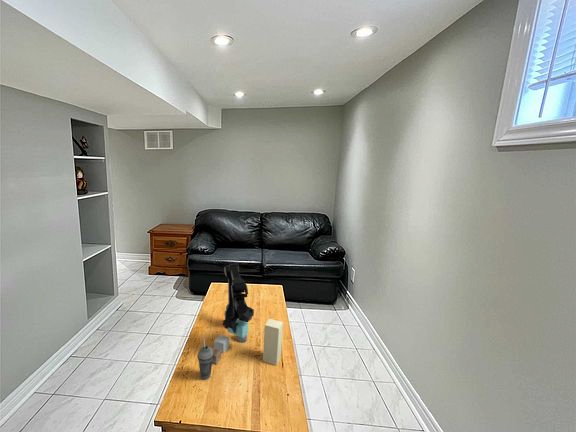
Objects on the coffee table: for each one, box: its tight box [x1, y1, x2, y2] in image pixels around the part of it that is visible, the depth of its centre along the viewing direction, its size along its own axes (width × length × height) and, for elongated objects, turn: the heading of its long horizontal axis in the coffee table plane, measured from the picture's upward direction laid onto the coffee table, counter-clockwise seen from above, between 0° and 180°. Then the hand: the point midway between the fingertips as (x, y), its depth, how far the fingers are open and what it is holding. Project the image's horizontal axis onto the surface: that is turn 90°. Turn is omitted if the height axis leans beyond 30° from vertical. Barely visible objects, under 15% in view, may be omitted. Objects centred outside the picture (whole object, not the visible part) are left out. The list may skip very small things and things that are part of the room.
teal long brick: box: [227, 319, 249, 338], centre depth 147 cm, size 10×5×6 cm, turn 62°
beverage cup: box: [197, 337, 213, 381], centre depth 126 cm, size 7×7×20 cm
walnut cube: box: [211, 347, 222, 366], centre depth 138 cm, size 5×5×5 cm
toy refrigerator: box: [262, 318, 284, 366], centre depth 140 cm, size 8×7×21 cm
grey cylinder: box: [237, 333, 248, 344], centre depth 155 cm, size 5×5×6 cm
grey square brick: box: [213, 334, 230, 354], centre depth 147 cm, size 6×6×6 cm
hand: (237, 330), depth 147 cm, fingers closed on teal long brick, 5 cm apart
